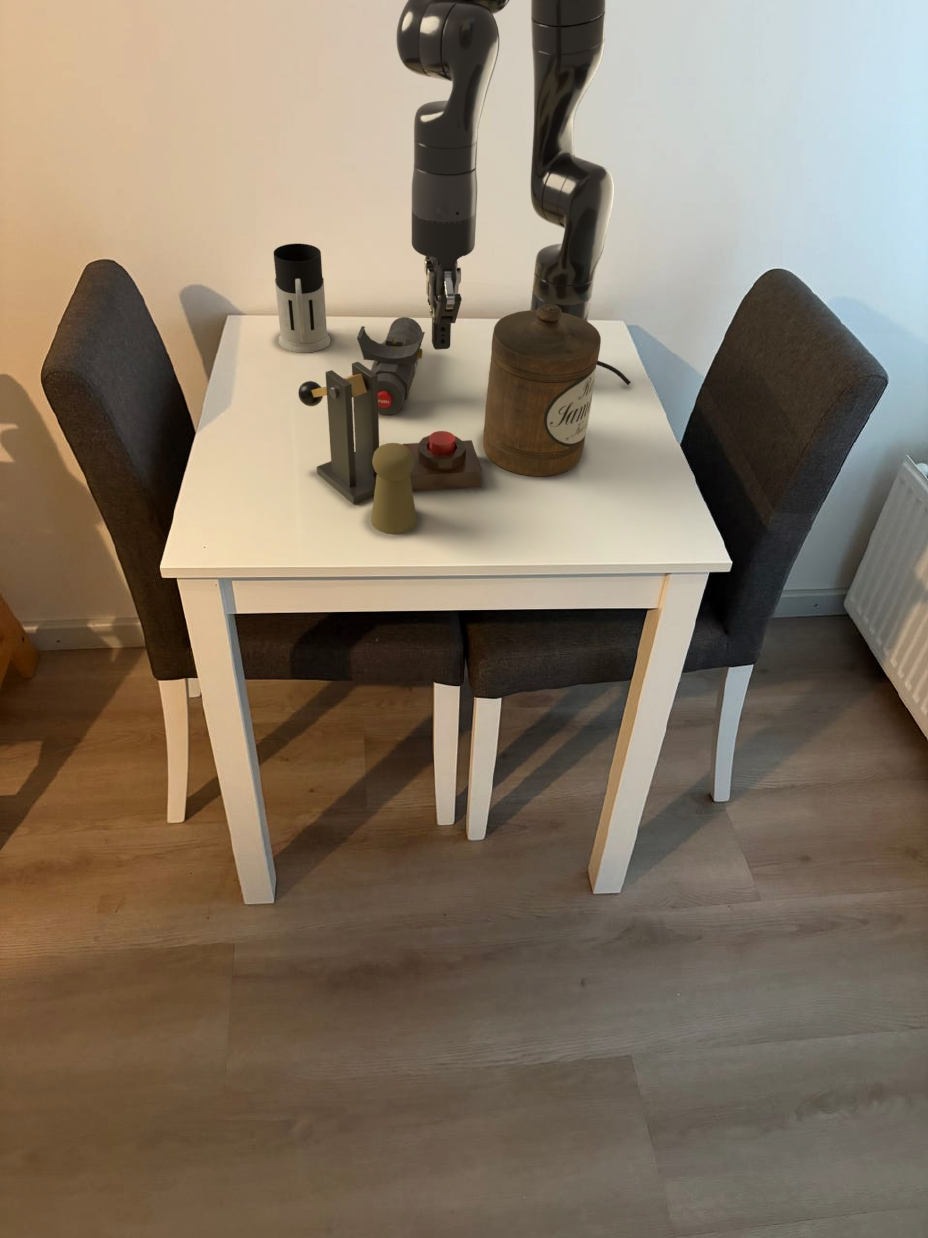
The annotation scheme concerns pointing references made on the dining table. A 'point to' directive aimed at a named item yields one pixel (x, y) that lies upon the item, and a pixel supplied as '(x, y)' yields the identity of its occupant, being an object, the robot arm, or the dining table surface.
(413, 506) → the tan wooden game pawn
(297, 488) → the dining table surface
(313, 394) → the lever
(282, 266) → the glass holder
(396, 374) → the laser sight
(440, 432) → the button
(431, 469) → the lamp base
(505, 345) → the wooden container
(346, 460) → the switch bracket
